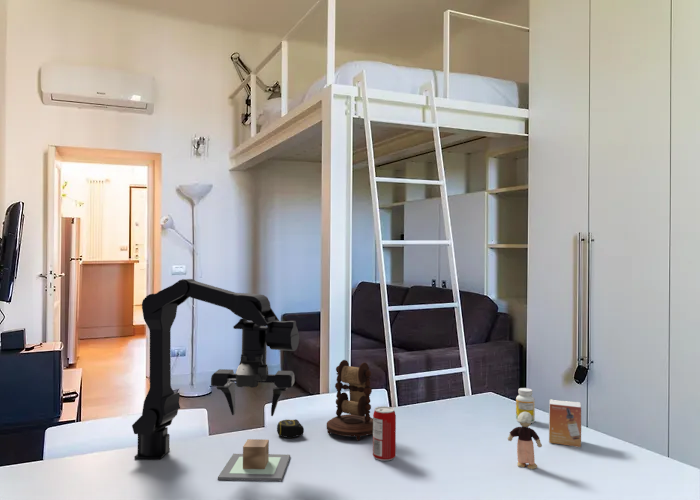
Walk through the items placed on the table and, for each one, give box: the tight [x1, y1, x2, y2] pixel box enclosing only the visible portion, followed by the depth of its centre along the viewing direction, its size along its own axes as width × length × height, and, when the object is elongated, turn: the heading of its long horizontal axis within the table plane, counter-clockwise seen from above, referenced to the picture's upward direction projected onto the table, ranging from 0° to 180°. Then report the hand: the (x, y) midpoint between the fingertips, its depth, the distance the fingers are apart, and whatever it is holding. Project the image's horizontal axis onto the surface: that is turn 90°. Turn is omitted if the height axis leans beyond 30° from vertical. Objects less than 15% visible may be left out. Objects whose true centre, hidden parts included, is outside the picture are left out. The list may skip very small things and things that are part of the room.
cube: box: [242, 438, 270, 469], centre depth 122 cm, size 5×5×5 cm
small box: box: [548, 399, 582, 448], centre depth 141 cm, size 8×6×10 cm
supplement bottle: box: [515, 387, 536, 424], centre depth 159 cm, size 5×5×10 cm
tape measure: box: [276, 419, 305, 438], centre depth 145 cm, size 7×7×4 cm
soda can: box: [372, 406, 397, 462], centre depth 129 cm, size 6×6×12 cm
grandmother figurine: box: [507, 412, 543, 470], centre depth 124 cm, size 8×4×13 cm, turn 71°
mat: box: [217, 453, 291, 482], centre depth 122 cm, size 14×14×1 cm
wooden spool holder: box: [326, 359, 373, 442], centre depth 147 cm, size 15×15×20 cm
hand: (252, 415), depth 123 cm, fingers open, 9 cm apart
